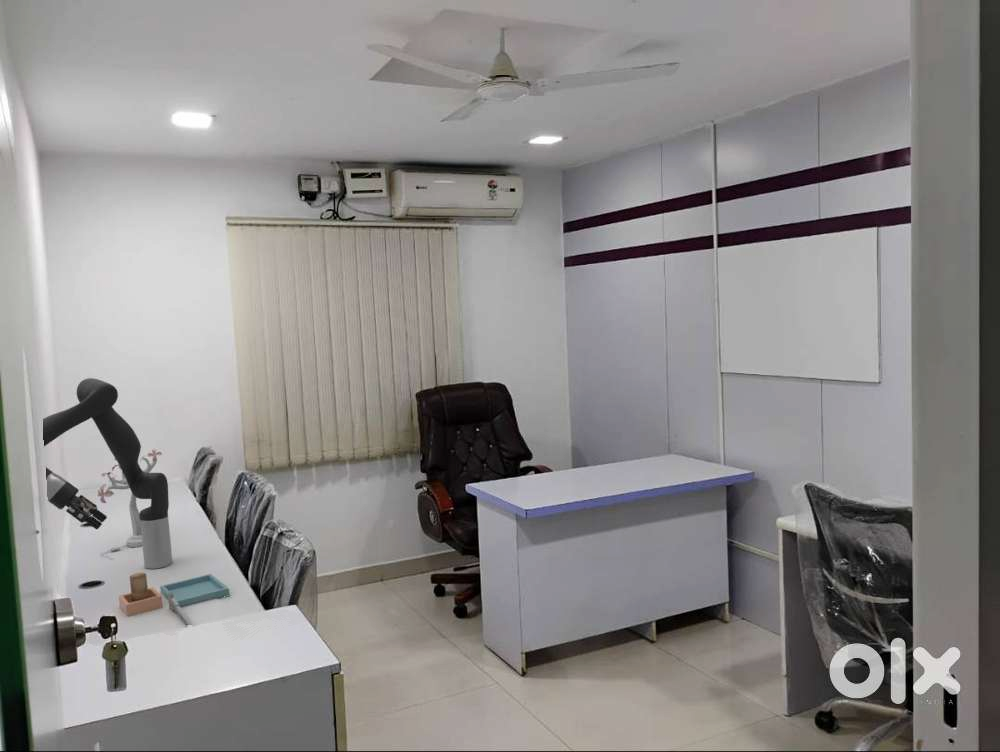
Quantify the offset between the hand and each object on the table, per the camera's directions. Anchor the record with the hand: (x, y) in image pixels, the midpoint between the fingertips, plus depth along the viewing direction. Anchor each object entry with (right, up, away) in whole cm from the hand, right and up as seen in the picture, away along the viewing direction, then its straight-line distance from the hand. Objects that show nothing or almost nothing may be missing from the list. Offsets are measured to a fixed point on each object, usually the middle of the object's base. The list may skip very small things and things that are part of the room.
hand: (102, 523), depth 247 cm
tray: (+25, -24, +10) cm, 36 cm away
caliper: (+28, -27, -10) cm, 40 cm away
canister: (+12, -26, 0) cm, 28 cm away
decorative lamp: (-20, -21, +66) cm, 72 cm away
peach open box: (+12, -26, 0) cm, 29 cm away
